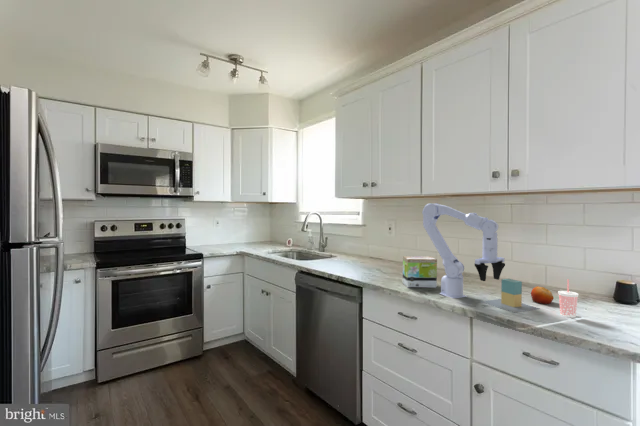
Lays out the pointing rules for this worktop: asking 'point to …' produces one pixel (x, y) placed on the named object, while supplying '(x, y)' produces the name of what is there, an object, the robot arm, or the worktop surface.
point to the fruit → (541, 295)
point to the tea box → (419, 271)
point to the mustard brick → (511, 299)
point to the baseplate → (512, 309)
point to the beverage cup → (568, 302)
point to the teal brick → (511, 286)
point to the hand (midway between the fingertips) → (489, 279)
